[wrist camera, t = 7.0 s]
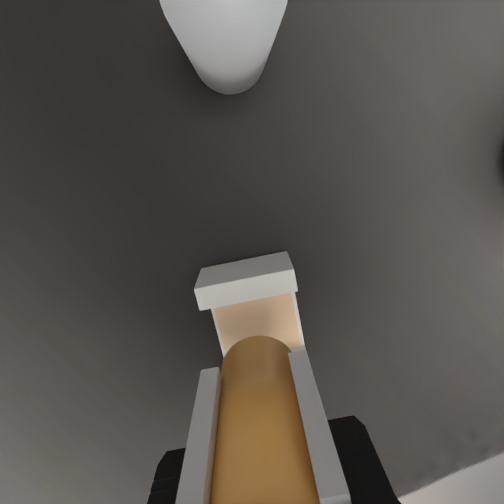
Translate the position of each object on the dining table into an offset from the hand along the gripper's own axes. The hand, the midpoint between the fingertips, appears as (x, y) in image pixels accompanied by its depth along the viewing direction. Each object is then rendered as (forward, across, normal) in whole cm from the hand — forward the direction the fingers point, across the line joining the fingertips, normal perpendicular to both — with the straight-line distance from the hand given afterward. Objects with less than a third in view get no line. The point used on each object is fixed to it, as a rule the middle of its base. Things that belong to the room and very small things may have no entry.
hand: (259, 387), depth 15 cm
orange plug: (+2, 0, 0) cm, 2 cm away
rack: (+6, 0, -3) cm, 7 cm away
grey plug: (+6, +2, +14) cm, 16 cm away
